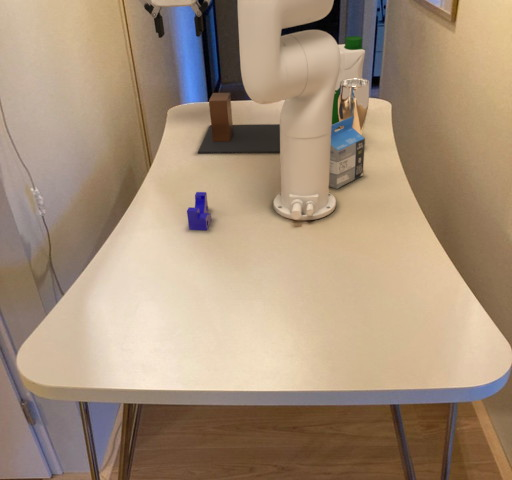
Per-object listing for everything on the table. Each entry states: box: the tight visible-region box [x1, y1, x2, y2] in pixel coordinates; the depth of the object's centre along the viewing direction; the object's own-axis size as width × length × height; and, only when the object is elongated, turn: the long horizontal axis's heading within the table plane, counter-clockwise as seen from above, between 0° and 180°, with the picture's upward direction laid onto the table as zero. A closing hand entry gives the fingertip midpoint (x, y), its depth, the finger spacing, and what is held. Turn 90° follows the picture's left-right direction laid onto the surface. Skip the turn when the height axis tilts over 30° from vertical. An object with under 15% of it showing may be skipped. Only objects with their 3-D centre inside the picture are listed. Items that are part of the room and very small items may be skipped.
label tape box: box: [329, 116, 366, 190], centre depth 116 cm, size 9×4×12 cm, turn 132°
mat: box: [197, 123, 280, 155], centre depth 140 cm, size 18×22×1 cm
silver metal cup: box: [338, 77, 370, 137], centre depth 128 cm, size 7×7×15 cm
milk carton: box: [332, 35, 366, 129], centre depth 139 cm, size 9×9×20 cm
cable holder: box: [186, 191, 212, 231], centre depth 108 cm, size 8×4×4 cm, turn 171°
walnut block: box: [208, 92, 234, 142], centre depth 137 cm, size 6×4×10 cm
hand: (180, 35), depth 126 cm, fingers open, 8 cm apart
